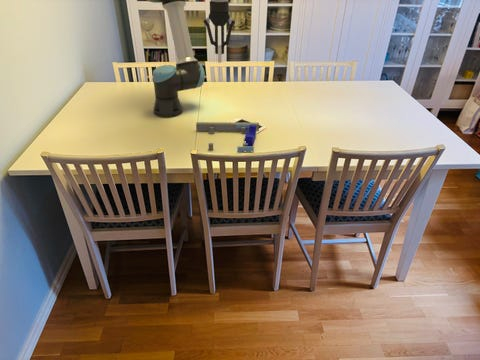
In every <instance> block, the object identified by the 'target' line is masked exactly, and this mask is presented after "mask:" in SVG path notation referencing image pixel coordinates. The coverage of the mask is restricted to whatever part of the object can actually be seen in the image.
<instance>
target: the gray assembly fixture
mask: <svg viewBox="0 0 480 360" xmlns="http://www.w3.org/2000/svg"><path fill="white" fill-rule="evenodd" d="M250 125H256V131H259V125H260V122H252V123H239V122H230V121H228V122H227V121H225V122H221V121H220V122H219V121H218V122H215V121H214V122H213V121H210V122H208V121H207V122H203V121H202V122H197V121H196V122H195V129H196V132H197V133H199V132H200V133H205V132H206V133H209V134H210V135H214V134H215V133H222V132H223V133H240V134H241V135H245V134H246V130H248V131H249V126H250ZM254 147H255V146H254V145H253V146H248V143H246V142H243V143H242V146H237V148H236V149H237V153H243V152H242V151H246V152H245V153H252V152H251V151H253V152H255V151H254ZM208 151H214V142H209V143H208ZM248 151H249V152H248Z"/></svg>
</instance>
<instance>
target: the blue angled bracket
mask: <svg viewBox="0 0 480 360" xmlns="http://www.w3.org/2000/svg"><path fill="white" fill-rule="evenodd" d="M256 136H257V134H256V125H250V126H249V131H248V130H246V134H244V139H243V140H244V141H246V142H245V143H248V146H254V144H255V140H256Z"/></svg>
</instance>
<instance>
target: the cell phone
mask: <svg viewBox="0 0 480 360" xmlns="http://www.w3.org/2000/svg"><path fill="white" fill-rule="evenodd" d="M229 122H239V123H253V122H251V121H249V120H246V119H244V118H240V117H236V118H235V119H231V121H229ZM266 129H267V127H266V126H264V125H260V124H259V131H256V135H258V134H259V133H261V132H263V131H264V130H266Z"/></svg>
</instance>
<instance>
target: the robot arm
mask: <svg viewBox="0 0 480 360" xmlns="http://www.w3.org/2000/svg"><path fill="white" fill-rule="evenodd" d="M146 1H148V2H150V3H154V4H155V3H156V4H157V3H159V4H161V5H162V8H163V9H164V10H166V13H167V18H168V22H169V27H170V32H171V36H172V41H173V46H174V50H175V53H176V59H177V61H176V63H175V65H174V64H164V65H160V66H157V67H156V68H154V69H153V71H152V82H153V89H154V96H155V101H154V105H153V114H154V115H155V116H157V117H160V118H174V117H178V116H180V115H182V114H183V106H182V103H181V101H180V98H179V94H178V93H179V92H182V91H187V90H194V89H198V88H200V87H202V86H203V85H204V84H205V83H204V82H205V78H206V75H205V69H204V67H203V65H202V64H200V63H199V61H198V59H196V58H195V56H194V55H195V54H194V52H193V51H194V50H193V46H192V42H191V36H190V31H189V26H188V21H187V17H186V16H187V15H186V13H185V6H186V4H187V2H186V1H187V0H146ZM229 4H230V3H229V1H228V0H210V1H209V13H208V17H207V18H204V19H203V23H204V25H205V26H206V30H207V33H208V35H207V36H208V38H209V41H210V42H209V43H210V45H212V46H214V50H215V51H214V54H216V55H217V63H218V64H220V63H222V55H224V54H225V46H228V45H229V42H230V39H231V34H232V29H233V27H234V25H235V23H236V21H235V18H232V17H231V16H230V13H229V12H230V10H229V9H230V5H229ZM228 21H229V22H228ZM210 23H212V25H213V26H214V37H213V33H212V30H211V26H210ZM227 23H229V25H228V28H227V29H228V30H227V33H226V34H227V35H226V38H225V27H226V24H227ZM219 27H220V41H221V43H220V44H219Z"/></svg>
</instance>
